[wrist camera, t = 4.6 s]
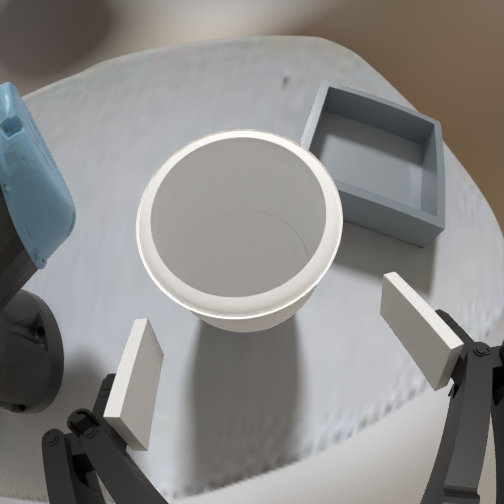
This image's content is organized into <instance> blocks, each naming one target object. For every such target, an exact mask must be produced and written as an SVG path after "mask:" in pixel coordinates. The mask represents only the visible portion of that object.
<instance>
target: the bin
mask: <svg viewBox="0 0 504 504" xmlns="http://www.w3.org/2000/svg"><path fill="white" fill-rule="evenodd" d="M300 145H301V146H303V147H304V148H306V149H307V150H308V151H309V152H311V153H312V154H313V155H314V156H315V157H316V158H317V159H318V160H319V161H320V162H321V163H322V164H323V166H324V167H325V168H326V170H327V171H328V172H329V174H330V176H331V177H332V179H333V181H334V183H335V185H336V188H337V190H338V193H339V196H340V200H341V205H342V213H343V220H344V221H347V222H350V223H353V224H356V225H359V226H362V227H365V228H368V229H371V230H374V231H377V232H379V233H382V234H385V235H388V236H391V237H393V238H396V239H399V240H402V241H404V242H407V243H410V244H413V245H415V246H418V247H421V248H423V247H424V246H426V245H427V244H428V243H429V242H430V241H432V240H433V239H434V238H435V237H436V236H437V235H439V234H440V233H441V232H442V231H443V230H444V229H445V170H444V154H443V142H442V132H441V124H440V122H439V121H437V120H434V119H432V118H430V117H428V116H426V115H423V114H421V113H419V112H416V111H414V110H411V109H409V108H406V107H404V106H401V105H399V104H396V103H394V102H391V101H388V100H385V99H383V98H380V97H377V96H374V95H371V94H368V93H365V92H362V91H359V90H356V89H352V88H349V87H346V86H342V85H339V84H335V83H331V82H328V81H324V80H322V83H321V86H320V88H319V91H318V94H317V97H316V100H315V102H314V105H313V108H312V111H311V114H310V116H309V119H308V122H307V125H306V128H305V130H304V133H303V136H302V139H301V142H300Z"/></svg>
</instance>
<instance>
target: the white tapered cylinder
mask: <svg viewBox="0 0 504 504" xmlns="http://www.w3.org/2000/svg"><path fill="white" fill-rule="evenodd" d="M342 227H343V213H342V205H341V200H340V196H339V193H338V190H337V188H336V185H335V183H334V181H333V179H332V177H331V176H330V174H329V172H328V171H327V170H326V168H325V167H324V166H323V164H322V163H321V162H320V161H319V160H318V159H317V158H316V157H315V156H314V155H313V154H312V153H311V152H309V151H308V150H307V149H306V148H304V147H303V146H301V145H300V144H298V143H296V142H294V141H293V140H290V139H288V138H286V137H284V136H281V135H278V134H275V133H271V132H267V131H262V130H255V129H233V130H225V131H220V132H216V133H212V134H209V135H206V136H203V137H201V138H198V139H196V140H194V141H192V142H190V143H188V144H187V145H185V146H183V147H182V148H180V149H179V150H177V151H176V152H175V153H174V154H172V155H171V156H170V157H169V158H168V159H167V160H166V161H165V162H164V163H163V164H162V165H161V166H160V167H159V168H158V169H157V171H156V172H155V173H154V175H153V176H152V178H151V179H150V181H149V183H148V184H147V186H146V188H145V190H144V193H143V195H142V198H141V200H140V204H139V207H138V212H137V219H136V238H137V245H138V249H139V253H140V256H141V259H142V262H143V264H144V266H145V268H146V270H147V272H148V273H149V275H150V277H151V278H152V279H153V281H154V282H155V283H156V285H157V286H158V287H159V288H160V289H161V290H162V291H163V292H164V293H165V294H166V295H167V296H169V297H170V298H171V299H173V300H174V301H175V302H177V303H178V304H180V305H182V306H184V307H185V308H187V309H189V310H190V311H191V312H192V313H193V314H194V315H196V316H197V317H198V318H200V319H201V320H203V321H205V322H206V323H208V324H210V325H212V326H215V327H217V328H220V329H223V330H227V331H232V332H243V333H246V332H257V331H262V330H266V329H269V328H272V327H274V326H276V325H278V324H280V323H282V322H284V321H286V320H287V319H289V318H290V317H291V316H293V315H294V314H295V313H296V312H297V311H298V310H299V309H300V308H301V307H302V306H303V305H304V304H305V303H306V301H307V300H308V299H309V297H310V296H311V294H312V293H313V291H314V289H315V287H316V285H317V283H318V282H319V281H320V280H321V278H322V277H323V276H324V274H325V273H326V272H327V270H328V269H329V267H330V265H331V263H332V262H333V260H334V257H335V255H336V253H337V250H338V247H339V244H340V240H341V235H342Z"/></svg>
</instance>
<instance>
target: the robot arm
mask: <svg viewBox="0 0 504 504" xmlns="http://www.w3.org/2000/svg"><path fill="white" fill-rule="evenodd" d="M75 219H76V212H75V206H74V202H73V199H72V197H71V194H70V192H69V190H68V188H67V185H66V183H65V181H64V179H63V177H62V175H61V173H60V171H59V169H58V167H57V165H56V163H55V161H54V159H53V157H52V155H51V153H50V151H49V149H48V147H47V145H46V143H45V141H44V139H43V137H42V135H41V133H40V131H39V129H38V127H37V125H36V123H35V122H34V120H33V118H32V116H31V114H30V112H29V110H28V108H27V106H26V105H25V103H24V101H23V100H22V99H21V97H20V95H19V94H18V91H17V89H16V88H15V87H14V85H13V84H12V83H9V82H6V83H4V84H2V85H0V407H2V408H4V409H7V410H9V411H12V412H15V413H34V412H39V411H41V410H43V409H45V408H46V407H47V406H48V405H49V404H50V403H51V402H52V400H53V399H54V397H55V396H56V394H57V391H58V389H59V386H60V382H61V378H62V371H63V348H62V340H61V335H60V331H59V328H58V325H57V322H56V320H55V317H54V315H53V313H52V312H51V310H50V308H49V307H48V306H47V304H46V303H45V302H44V301H43V300H42V299H41V298H40V297H38V296H37V295H35V294H33V293H30V292H28V291H25V290H23V289H21V288H22V287H23V286H24V284H25V283H26V282H27V281H28V280H29V279H30V278H31V277H32V276H33V275H34V273H35V272H36V271H37V270H38V269H43V268H44V267H45V266H46V264H47V259H48V258H49V257H50V256H51V255H52V254H53V253H54V252H55V250H56V249H57V248H58V247H59V246H60V245H61V244H62V243H63V242H64V241H65V240H66V239H67V238H68V236H69V235H70V233H71V232H72V230H73V228H74V225H75ZM380 314H381V316H382V317H383V318H384V320H385V321H386V322H387V324H388V325H389V326H390V328H391V329H392V330H393V332H394V333H395V335H396V336H397V337H398V339H399V340H400V342H401V343H402V344H403V346H404V347H405V349H406V350H407V351H408V353H409V354H410V356H411V357H412V358H413V360H414V361H415V363H416V364H417V366H418V367H419V369H420V370H421V372H422V373H423V374H424V376H425V377H426V379H427V380H428V382H429V383H430V385H431V386H432V388H433V389H434V391H436V390H438V389H440V388H443V387H445V386H447V384H448V382H449V380H450V378H452V379H453V381H454V384H453V386H452V388H451V390H450V392H449V394H448V396H450V395H451V398H450V403H449V409H448V413H447V418H446V423H445V427H444V431H443V435H442V439H441V443H440V447H439V450H438V454H437V457H436V460H435V464H434V467H433V470H432V473H431V476H430V479H429V482H428V484H427V487H426V490H425V493H424V495H423V498H422V500H421V503H420V504H479V503H480V496H479V495H478V494H477V488H478V484H479V480H480V476H481V471H482V466H483V461H484V456H485V450H486V445H487V438H488V430H489V422H490V412H491V418H492V425H493V432H494V444H495V455H496V456H495V457H496V484H497V485H496V504H504V341H503V343H502V346H496V347H489V346H488V345H487V344H485V343H483V342H474V341H473V340H472V339H471V338H470V337H469V335H468V334H467V333H466V332H465V331H464V330H463V329H462V328H461V327H460V326H458V324H457V323H456V322H455V321H454V320H453V319H452V318H451V316H450V315H449V314H447V313H446V312H444V311H442V310H440V309H439V310H436V311H434V310H433V309H432V308H431V307H430V306H429V305H428V304H427V303H426V302H425V301H424V300H423V299H422V298H421V297H420V296H419V295H418V294H417V293H416V292H415V291H414V290H413V289H412V288H411V287H410V286H409V285H408V284H407V283H406V282H405V281H404V280H403V279H402V278H401V277H400V276H399V275H398V274H397V273H396V272H391V273H387V274H384V275H383V288H382V299H381V309H380ZM163 356H164V354H163V352H162V350H161V348H160V345H159V343H158V341H157V338H156V336H155V334H154V331H153V329H152V327H151V324H150V322H149V319H148V318H145V319H137V320H135V322H134V325H133V328H132V330H131V333H130V336H129V339H128V341H127V344H126V347H125V350H124V353H123V356H122V359H121V361H120V364H119V367H118V370H117V373H116V374H108V375H107V377H106V378H105V379H104V380H103V382H102V385H101V387H100V391H99V393H98V398H97V399H96V402H95V405H94V408H93V411H92V413H91V412H90V411H89V410H88V409H78V410H76V411H74V412H73V413H72V414H71V415H70V416H69V418H68V421H67V425H68V428H69V429H70V430H71V431H72V432H73V433H69V434H65V435H64V434H63V433H62V432H61V431H60V430H58V429H51V430H49V431H47V432H46V433H45V434H44V436H43V438H42V452H43V462H44V470H45V478H46V484H47V490H48V496H49V501H50V504H105V501H104V498H103V495H102V492H101V488H100V485H99V482H98V478H97V475H96V472H97V474H98V476H99V477H100V479H101V481H102V482H103V484H104V486H105V487H106V489H107V490H108V492H109V494H110V495H111V497H112V498H113V500H114V501H115V503H116V504H168V502H167V501H166V500H165V499H164V498H163V497H162V496H161V495H160V493H159V492H158V491H157V490H156V489H155V487H154V486H153V485H152V484H151V483H150V481H149V480H148V479H147V478H146V476H145V475H144V474H143V473H142V471H141V470H140V469H139V467H138V466H137V465H136V464H135V462H134V461H133V459H132V458H131V457H130V455H129V454H128V453H127V452H126V447H127V445H128V446H129V447H130V448H131V449H132V450H138V451H148V445H149V438H150V431H151V424H152V418H153V412H154V406H155V400H156V394H157V388H158V382H159V377H160V372H161V366H162V361H163Z"/></svg>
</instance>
